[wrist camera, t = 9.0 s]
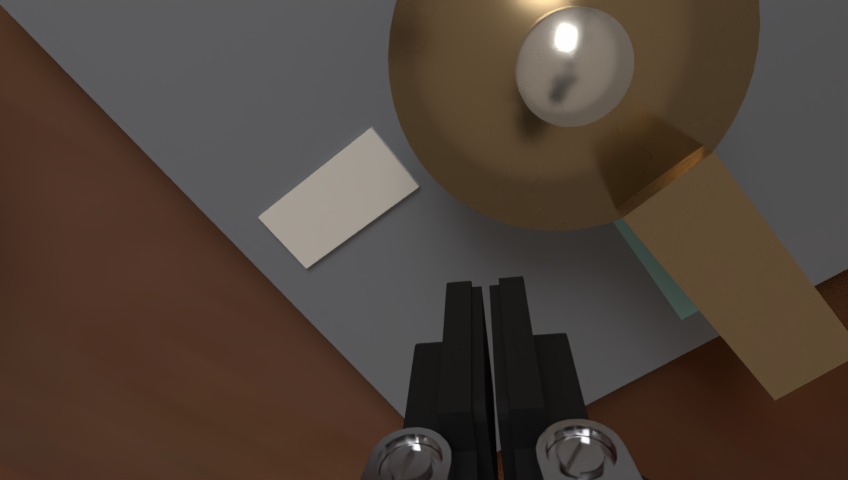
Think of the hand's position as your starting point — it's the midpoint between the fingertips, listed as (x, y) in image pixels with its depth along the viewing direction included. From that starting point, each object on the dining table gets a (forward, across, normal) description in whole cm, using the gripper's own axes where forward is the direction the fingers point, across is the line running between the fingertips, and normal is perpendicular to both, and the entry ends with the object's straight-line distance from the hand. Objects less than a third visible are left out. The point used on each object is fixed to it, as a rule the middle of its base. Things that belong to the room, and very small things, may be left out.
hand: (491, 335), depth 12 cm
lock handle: (+6, -4, -2) cm, 8 cm away
